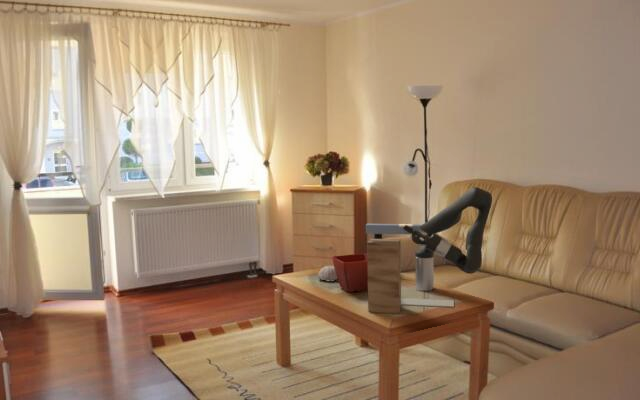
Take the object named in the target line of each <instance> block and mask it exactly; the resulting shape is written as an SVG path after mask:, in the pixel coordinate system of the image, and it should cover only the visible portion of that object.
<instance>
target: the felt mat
mask: <svg viewBox="0 0 640 400" xmlns="http://www.w3.org/2000/svg"><path fill="white" fill-rule="evenodd" d="M401 306H415V307H416V306H418V307H437V308H439V307H441V308H454V307H455V300H453V299H451V300H450V299H428V298H427V299H425V298H409V297H408V298H407V297H406V298H405V297H404V298H403V297H401Z"/></svg>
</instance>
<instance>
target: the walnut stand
mask: <svg viewBox="0 0 640 400" xmlns="http://www.w3.org/2000/svg"><path fill="white" fill-rule="evenodd" d="M401 245H402V243H401V239H400V238H382V239H374V238H370V239H369V240H367V242H366V247H367V248H366V251H367V252H366V253H367V264H368V290H367V308H368V309H367V312H368V311H371V312H370V313H385V314H386V313H388V314H389V313H390V314H400V312H401V308H402V305H401V298H402V274H401V271H402V262H401V261H402V260H401V258H402V257H401V255H402V254H401Z"/></svg>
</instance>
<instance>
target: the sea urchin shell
mask: <svg viewBox="0 0 640 400" xmlns="http://www.w3.org/2000/svg"><path fill="white" fill-rule="evenodd" d="M317 278H318V279H319V280H320V279H321V280H320V281H322V280H336V281H338V280H337V276H336V272H335V268H334V265H326V266H324V267H322V268H321V269H320V271H319V272H318V274H317Z"/></svg>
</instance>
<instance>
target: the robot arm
mask: <svg viewBox="0 0 640 400" xmlns="http://www.w3.org/2000/svg"><path fill="white" fill-rule="evenodd" d="M492 203H493V195H492V194H491V192H489V191H488V190H485V189H483V188H480V187H477V186H472V187H470V188H469V189H468V190H466V191H465V192H464V193H463V194H462V195H461V196H460V197H459V198H458V199H456V200H455V201H454V202H453V203H451V204H450V205H448V206H446V207H445V208H443V209H442V210H441V211H440V212H438V213H437V214H435V215H434V216H433V217H431V218H430V219H429V220H428V221H426V222H424V223H422V224H420V231H416V230H415V229H412V228H411V227H409V226H407V225H405V227H404V230H406V231H407V232H409V233H411V234H410V237H411V241H412V242H413V243H414V244H417V245H420V247H419V248H418V249H417V250H415V252H414V253H415V255H414V256H415V258H414V259H415V262H414V263H415V290H417V291H419V292H420V291H421V292H429V291H430V292H431V291H433V290H434V254H435V255H437V256H439V257H442V258H444V259H445V260H446V261H448V262H451V263H452V264H453V265H455V267H456V268H458V269H459V270H461V271H462V272H464V273H465V274H469V275H471V274H472V275H473V274H474V273H476V272H478V271H479V270H480V269H481V267H482V264H483V263H482V262H483V261H482V260H483V257H482V256H483V254H482V248H483V241H484V240H483V239H484V234H485V233H484V232H485V228H486V225H487V221H488V217H489V214H490V210H491V208H492ZM469 207H470V208H474V209H477V211H478V213H477V218H476V220H475V221H474V222H473V223H472V225H471V226H470V227H469V229H468V231H467V234H466V241H465V250H466V255H465V254H463V251H462V249H460V248H459V247H457V246H456V245H453V244H452V243H451V242H449V241H448V240H446V239H445V238H443V237H442V236H439V235H437V234H438V233H441V232H444V231H446V230H448V229H451V228H453V227H454V226H455V225H457V224H458V223H459V222H460V221H461V220H462V215H463V211H464V210H466V209H468V208H469ZM415 234H416V235H415ZM432 289H433V290H432Z"/></svg>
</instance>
